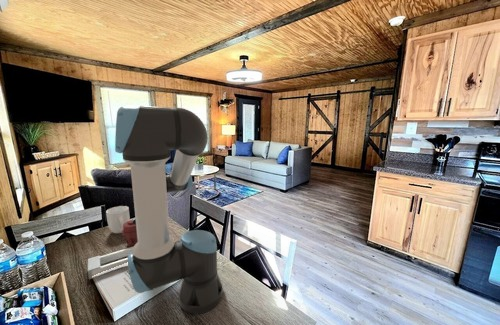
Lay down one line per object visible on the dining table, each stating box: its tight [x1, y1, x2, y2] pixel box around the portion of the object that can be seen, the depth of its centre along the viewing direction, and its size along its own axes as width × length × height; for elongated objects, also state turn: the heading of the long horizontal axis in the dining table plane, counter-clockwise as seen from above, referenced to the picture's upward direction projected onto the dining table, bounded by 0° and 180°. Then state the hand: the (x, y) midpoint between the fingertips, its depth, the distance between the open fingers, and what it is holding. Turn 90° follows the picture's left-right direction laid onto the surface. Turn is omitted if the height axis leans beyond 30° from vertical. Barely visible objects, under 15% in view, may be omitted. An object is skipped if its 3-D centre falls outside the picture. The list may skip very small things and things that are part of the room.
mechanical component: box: [121, 219, 138, 247], centre depth 106 cm, size 12×10×10 cm
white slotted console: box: [87, 245, 135, 280], centre depth 92 cm, size 9×21×4 cm, turn 127°
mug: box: [105, 205, 131, 234], centre depth 118 cm, size 15×11×13 cm
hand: (150, 249), depth 99 cm, fingers closed
